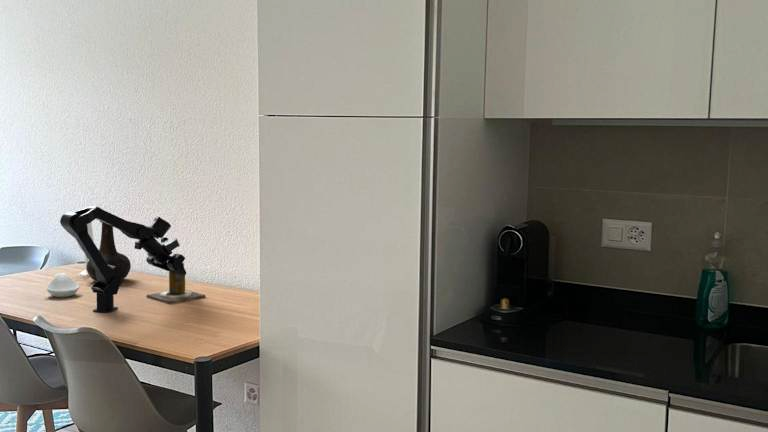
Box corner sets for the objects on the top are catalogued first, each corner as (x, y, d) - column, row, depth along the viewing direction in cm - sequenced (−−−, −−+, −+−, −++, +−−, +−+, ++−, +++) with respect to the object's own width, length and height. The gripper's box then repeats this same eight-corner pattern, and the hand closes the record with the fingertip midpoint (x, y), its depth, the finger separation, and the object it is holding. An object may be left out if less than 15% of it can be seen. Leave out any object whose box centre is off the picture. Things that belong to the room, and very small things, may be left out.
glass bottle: (113, 287, 311) (111, 220, 308) (77, 283, 317) (75, 217, 313) (139, 279, 328) (138, 215, 325) (105, 276, 334) (103, 213, 330)
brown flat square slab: (169, 304, 283) (169, 299, 283) (146, 297, 293) (146, 292, 293) (205, 297, 295) (205, 292, 295) (181, 291, 306) (181, 286, 305)
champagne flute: (85, 275, 334) (84, 221, 331) (75, 273, 337) (74, 220, 335) (98, 273, 340) (96, 220, 337) (88, 271, 343) (86, 219, 340)
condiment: (187, 291, 298) (187, 261, 297) (184, 296, 290) (184, 265, 288) (168, 291, 297) (168, 261, 296) (165, 296, 289) (164, 265, 288)
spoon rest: (81, 298, 292) (80, 279, 291) (48, 300, 286) (47, 282, 285) (74, 286, 313) (73, 269, 312) (43, 288, 307) (42, 271, 306)
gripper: (180, 233, 282) (205, 259, 292) (152, 229, 294) (177, 253, 304) (162, 257, 277) (188, 282, 287) (134, 251, 289) (160, 275, 299)
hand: (178, 272), depth 294 cm, fingers open, 9 cm apart
